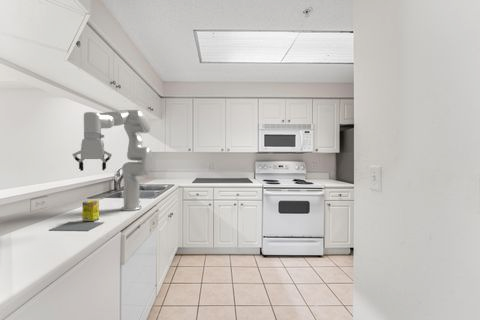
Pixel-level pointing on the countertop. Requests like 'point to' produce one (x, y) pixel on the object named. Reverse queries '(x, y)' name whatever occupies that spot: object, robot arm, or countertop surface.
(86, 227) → the topple mat
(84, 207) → the supplement box
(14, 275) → the countertop surface
